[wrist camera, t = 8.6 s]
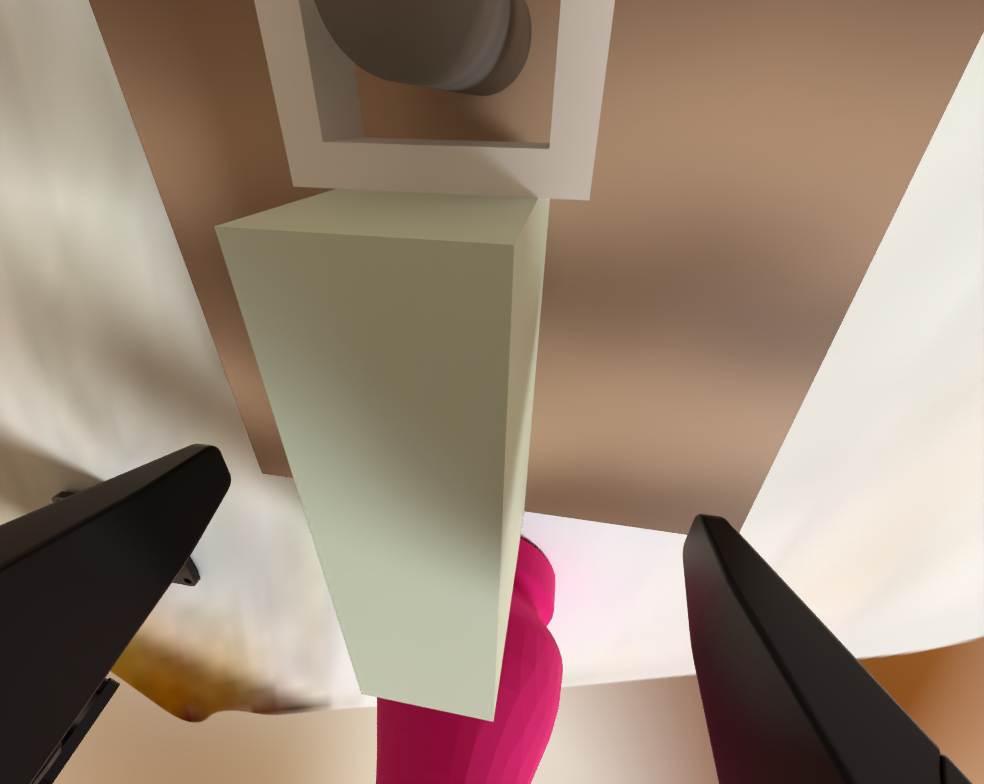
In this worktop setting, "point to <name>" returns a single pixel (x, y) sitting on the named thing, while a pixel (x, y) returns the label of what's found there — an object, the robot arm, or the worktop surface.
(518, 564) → the pepper mill
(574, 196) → the light grey piece
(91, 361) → the worktop surface
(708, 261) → the brown open rectangular box
